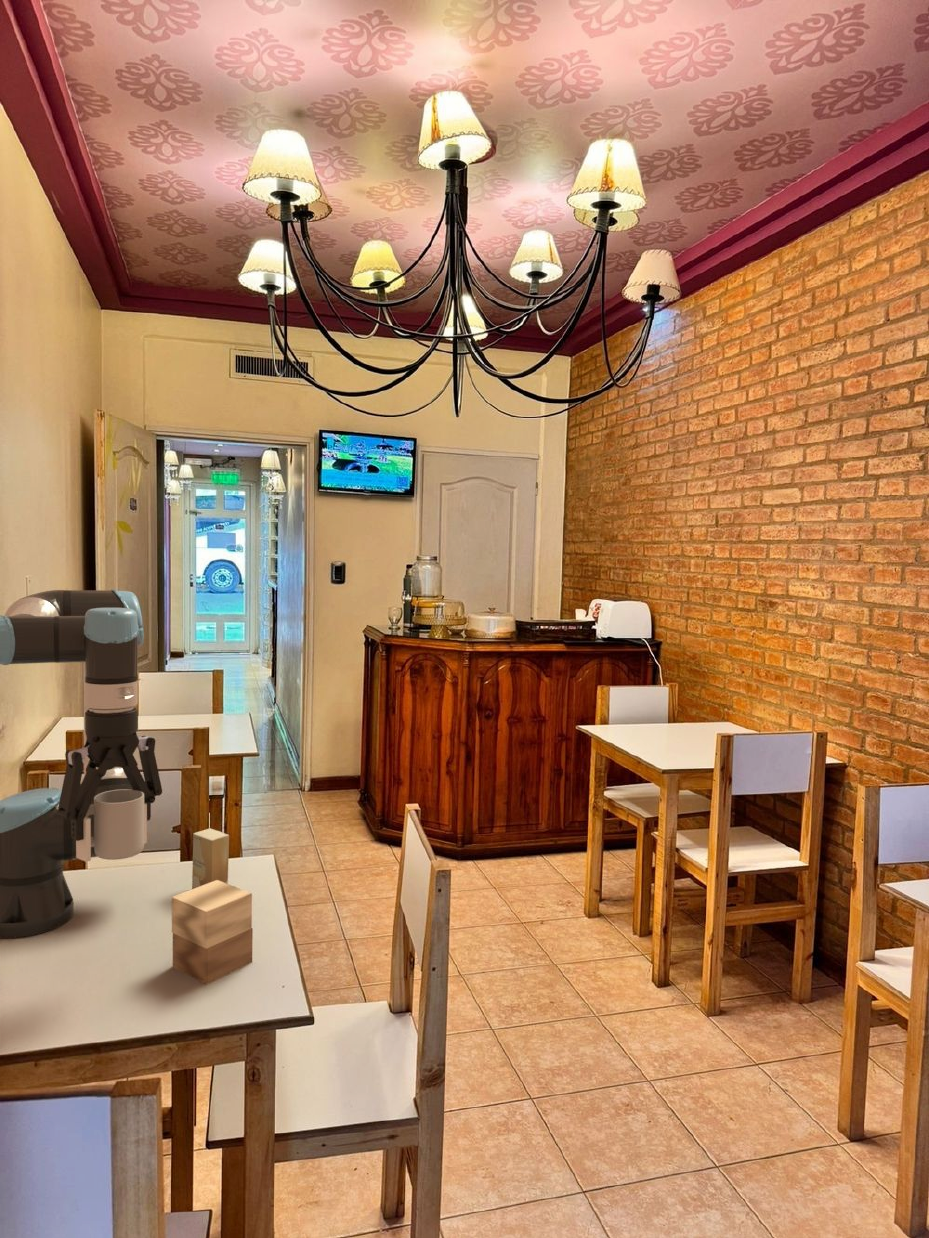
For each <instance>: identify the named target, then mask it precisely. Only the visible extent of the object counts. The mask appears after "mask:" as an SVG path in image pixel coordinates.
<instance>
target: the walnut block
mask: <svg viewBox="0 0 929 1238" xmlns="http://www.w3.org/2000/svg"><path fill="white" fill-rule="evenodd" d="M253 931H254V930H253V927H252V928H251V929H249V930H247V931H245V932H242V933H240V934H238V935H236V936H234V937H231V938H229V939H227V940H225V941H223V942H220V943H218V944H216V945H214V946H211V947H209V948H207V949H206V948H204V947H202V946H199V945H197V944H195V943H193V942H191V941H189V940H187V939H185V938H182V937H180V936H178V935H176V934H174V933H172V968H174V969H175V970H178V971H179V972H182V973H184V974H186V975H188V976H190V977H192V978H194V979H196V980H198V981H199V982H202V983H204V984H206V985H209V984H211V983H214V982H216V981H217V980H220V979H222V978H223V977H225V976H228V975H229V974H231V973H233V972H235V971H238V970H239V969H241V968H243V967H245V966H247V965H249V964H252V963H253Z"/></svg>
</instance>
